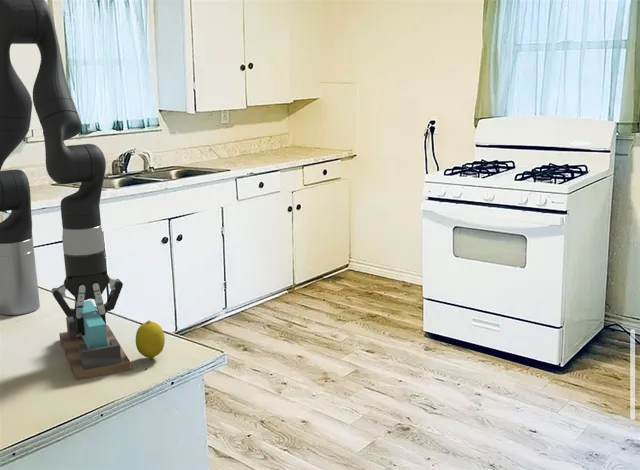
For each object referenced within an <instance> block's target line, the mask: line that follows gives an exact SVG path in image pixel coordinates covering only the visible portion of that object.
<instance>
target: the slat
mask: <svg viewBox="0 0 640 470" xmlns="http://www.w3.org/2000/svg"><path fill="white" fill-rule="evenodd" d="M83 320H84V330H85V335H83V336H82V335H81V336H82V338H83V340H84V342H85V344H86V346H87V348H88V349H92V348H97V347H103V346H108V345H107V334H106V325H107V323H106V324H105V322H104V321H103V319H102V317H101V316H100V314H99V313H98V310H97V307H96V305H95V304H94V303H93V301H92V299H88V300H85V301H84V307H83ZM80 334H81V333H80Z"/></svg>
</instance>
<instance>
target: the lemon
mask: <svg viewBox="0 0 640 470" xmlns="http://www.w3.org/2000/svg"><path fill="white" fill-rule="evenodd" d="M165 342H166V339H165V333H164V331H163V327H161V325H160V324H158V323H157V322H155V321H151V320H147V321H146V322H143V323H142V324H141V325H139V327H138V328H137V330H136V333H135V346H136V349H137V351H138V353H139V354H140V355H141V356H143V357H145V358H148V359H149V360H153V359H154V358H155V357H156V356H159V355H160V354H161V353H162V352H163V350H164V347H165Z"/></svg>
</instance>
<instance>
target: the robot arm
mask: <svg viewBox="0 0 640 470" xmlns="http://www.w3.org/2000/svg"><path fill="white" fill-rule="evenodd" d="M20 44H21V45H36V46H37V48H38V51H39V54H40V63H39V68H38V70H37V71H38V72H37V75H36V78H35V80H34V83H33V89H32V97H31V94H30V92H29V90H28V89H27V88H26V85H25V84H24V83H23V81H22V79H21V78H20V77H19V75H18V74H17V71H16V70H15V68H14V65H13V64H12V62H11V55H10V54H11V53H10V52H11V46H12V45H20ZM64 68H65V67H64V64H63V57H62V54H61V48H60V44H59V39H58V35H57V29H56V26H55V22H54V18H53V14H52V11H51V9H50V7H49V5H48V3H47V1H46V0H0V213H1V212H8V211H10V214H9V215H8V216H7V217H6V218H5V219H4V220H2V221H1V222H0V315H5V316H16V315H17V316H18V315H23V314H28V313H33V312H35V311H37V310H38V309H40V306H41V304H40V303H41V302H40V294H39V293H40V292H39V284H38V283H39V282H38V274H37V266H36V264H37V263H36V256H35V255H36V254H35V248H34V239H33V238H34V237H33V217H32V216H33V215H32V201H31V200H32V199H31V185H30V181H29V178H28V176H27V174H26V173H25V172H24V171H23V170H22V169H18V168H17V169H16V168H15V169H5V170H4V169H3V170H2V167H3V165H4V163H5V161H6V160H7V159H8V157H9V156H10V155H11V153H13V152H14V151H15V150H16V148H17V147H18V146H19V145H20V144H21V143H22V141H23V140H24V139H25V137H26V136H27V134H28V133H29V131H30V127H31V120H32V119H31V118H32V111H33V106H34V109H35V112H36V113H35V114H36V115H37V117H38V120H39V123H40V126H41V128H42V133H43V138H44V139H43V140H44V147H45V148H44V149H45V167H46V172H47V175H48V176H49V177H50V179H51V180H52V181H54V182H55V183H56V184H59V185H70V184H76V183H77V184H78V183H80V186H79V188H78V190H77V191H76V192H74V193H72V194H69V195H67V196H65V197H63V198H62V199H61V200H60V215H61V227H62V239H61V240H62V249H63V258H64V259H63V261H64V271H65V279H64V281H63V284H62V285H60V286H58V287H53V288H52V289H51V294H52V296H53V298H54V299H55V300H56V302H57V303H58V305H59V306H60V308H61V310H62V311H63V312H64V314H65V316H66V317H75V319H76V329H77V331H78V333H81V335H82V336H83V335H85V330H84V320H83V307H84V301H89V300H94V303H95V308H96V309H97V311H98V313H99V314H100V316H101V317H102V319H103V321H104V322H105V324H106V325H107V318H106V315H107V312H110V311H113V310H114V309H115V307H116V305H117V301H118V299H119V297H120V294H121V291H122V288H123V286H124V284H123V282H122V281H121V279H119V278H116V279H115V278H111V277H110V276H109V275H108V273H107V263H106V262H107V261H106V252H105V246H106V245H105V240H104V239H105V238H104V233H103V232H104V231H103V227H102V222H101V221H102V220H101V210H100V209H101V208H100V207H101V206H100V203H101V197H102V191H103V185H104V180H105V176H106V169H107V162H106V157H105V155H104V153H103V151H102V149H100V147H99V146H98V145H96V144H93V143H85V144H71V145H66V143H65V141H66V140H70V139H72V138H74V137H76V136H78V135H79V134H80V133H81V130H82V121H81V119H80V116H79V114H78V111H77V108H76V105H75V102H74V100H73V98H72V97H73V96H72V94H71V92H70V88H69V85H68V83H67V79H66V74H65V69H64ZM108 284H109V289H110V292H109V294H108V297H107V300H106V302H105V303H104V300H103V293H104V291H105V290H106V288H107V287H108ZM66 291H68V292H69V293H70V294H71V295H72V296H73V297H74V308H72V307H70V306H69V304H68V302H67V301H66V300H65V297H66V296H67V295H66Z"/></svg>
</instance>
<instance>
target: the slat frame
mask: <svg viewBox="0 0 640 470" xmlns="http://www.w3.org/2000/svg"><path fill="white" fill-rule="evenodd" d="M65 320H66V322H65V323H66V329H67V330H66V331H65V332H64V331H63V332H59V334H58V335H59V341H60V344H61V345H62V348H63V350H64V354H65V356H66V358H67V362H68V365H69V366H70V369H71V371H72V374H73V376H74V379H75V381H78V380H80V381H81V380H83V379H90V378H95V377H98V376H99V377H100V376H104V375H110V374H113V373H114V374H115V373H120V372H124V371H130V370H132V366H131V364H132V363H131V361H130V359H129V358H128V356H127V354H126V352H125V351H124V349H123V348H122V345H121V344H120V342H119V341H118V339H117V337H116V335H115V334H114V332H113V331H112V330H111V328H110V326H109V325H108V324H106V334H107V345H108V346H103V347H97V348H92V349H88V348H87V346H86V344H85V342H84V340H83V338H82V336H81V334H80V333H78V331H77V329H76V319H75V317H67V316H66V317H65Z"/></svg>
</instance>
